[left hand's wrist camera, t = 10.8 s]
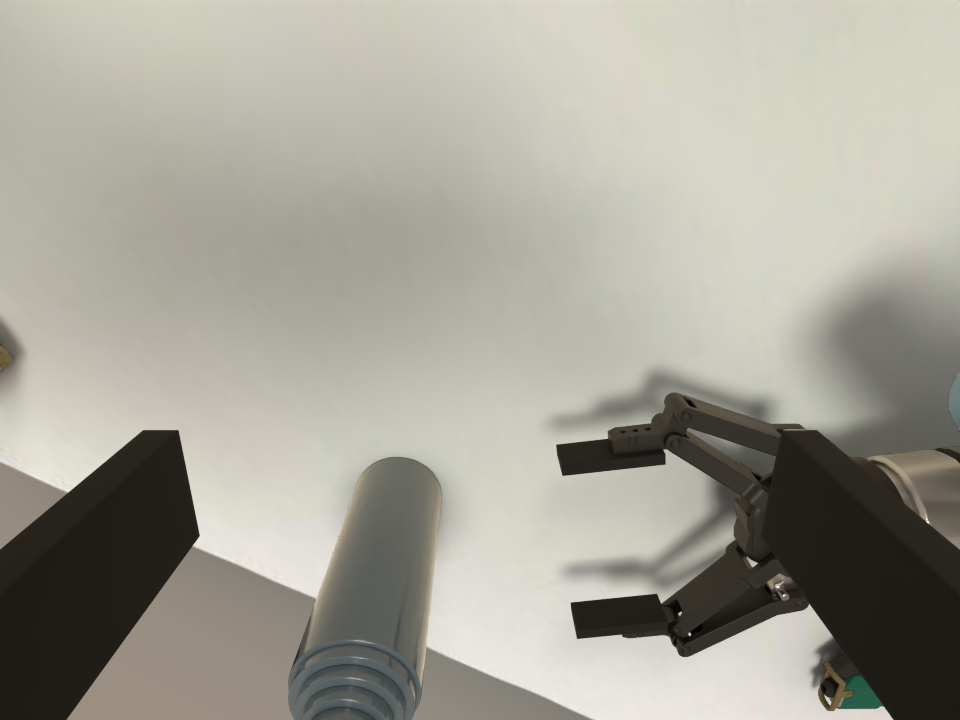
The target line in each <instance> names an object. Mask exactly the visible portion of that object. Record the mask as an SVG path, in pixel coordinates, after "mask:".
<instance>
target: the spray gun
mask: <svg viewBox="0 0 960 720" xmlns="http://www.w3.org/2000/svg"><path fill="white" fill-rule="evenodd" d="M824 666H825V667H826V669H827V670H826V673H825V675H824V678H823V680H822V683H821V685H820V688H819V690H818V695H819V699H820V701H821V703H822V704H823V706H824V707H825V708H826V710H828V711H834V710H835V709H836V708H838V709H877V708H879V707H880V706H883V704H882V703H881V702H880V700H879V699H878V697H877V696H876V695H875V693H874V692H873V691H872V689H871V688H870V686H869V685H868V684H867V682H866V681H865V680H864V678H863V677H862V675H861V674H860V673H859V671H858V670H857V669H856V667H855V666H854V664H853V663H852V662H851V660H850V659H849V658H848V656H847V655H846V653H843V654H842V655H840V656H839V657H837V658H835V659H834V660H832V661H831V662H829V661H827V662H826V663H824ZM824 695H826V696H827V697H829V698H830V700H831V702H832V703H831V705H829V704H828V702H827V701H826V699H825V697H824Z"/></svg>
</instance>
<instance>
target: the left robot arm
mask: <svg viewBox="0 0 960 720" xmlns="http://www.w3.org/2000/svg"><path fill="white" fill-rule="evenodd" d="M199 536H200V535H199V530H198V525H197V520H196V515H195V510H194V505H193V500H192V495H191V490H190V485H189V480H188V475H187V470H186V465H185V460H184V455H183V450H182V445H181V441H180V436H179V431H178V430H143V431H142V432H141V433H139V434H138V435H137V436H136V437H135V438H133V439H132V440H131V441H130V442H129V443H127V444H126V445H125V446H124V447H123V448H121V449H120V450H119V451H118V452H117V453H115V454H114V455H113V456H112V457H111V458H109V459H108V460H107V461H106V462H105V463H103V464H102V465H101V466H100V467H99V468H97V469H96V470H95V471H94V472H93V473H91V474H90V475H89V476H88V477H87V478H85V479H84V480H83V481H82V482H81V483H79V484H78V485H77V486H76V487H75V488H73V489H72V490H71V491H70V492H69V493H67V494H66V495H65V496H64V497H63V498H61V499H60V500H59V501H58V502H57V503H55V504H54V505H53V506H52V507H51V508H49V509H48V510H47V511H46V512H45V513H43V514H42V515H41V516H40V517H39V518H37V519H36V520H35V521H34V522H33V523H32V524H30V525H29V526H28V527H27V528H25V529H24V530H23V531H22V532H21V533H20V534H18V535H17V536H16V537H15V538H14V539H12V540H11V541H10V542H9V543H8V544H6V545H5V546H4V547H3V548H2V549H0V720H67V718H68V717H69V715H70V714H71V713H72V711H73V710H74V709H75V707H76V706H77V704H78V703H79V702H80V700H81V699H82V697H83V696H84V695H85V693H86V692H87V691H88V689H89V688H90V686H91V685H92V684H93V682H94V681H95V679H96V678H97V677H98V675H99V674H100V673H101V671H102V670H103V669H104V667H105V666H106V664H107V663H108V662H109V660H110V659H111V658H112V656H113V655H114V653H115V652H116V651H117V649H118V648H119V646H120V645H121V644H122V642H123V641H124V640H125V638H126V637H127V635H128V634H129V633H130V631H131V630H132V629H133V627H134V626H135V624H136V623H137V622H138V620H139V619H140V618H141V616H142V615H143V613H144V612H145V611H146V609H147V608H148V606H149V605H150V604H151V602H152V601H153V600H154V598H155V597H156V595H157V594H158V593H159V591H160V590H161V588H162V587H163V586H164V584H165V583H166V582H167V580H168V579H169V578H170V576H171V575H172V573H173V572H174V571H175V569H176V568H177V566H178V565H179V564H180V562H181V561H182V560H183V558H184V557H185V555H186V554H187V553H188V551H189V550H190V549H191V547H192V546H193V544H194V543H195V542H196V540H197V539H198V538H199ZM760 536H761V538H762V539H763V540H764V542H765V543H766V544H767V546H768V547H769V549H770V550H771V551H772V553H773V554H774V555H775V557H776V558H777V560H778V561H779V562H780V564H781V565H782V567H783V568H784V569H785V571H786V572H787V573H788V575H789V576H790V578H791V579H792V580H793V582H794V583H795V584H796V586H797V587H798V589H799V590H800V591H801V593H802V594H803V595H804V597H805V598H806V600H807V601H808V602H809V604H810V605H811V606H812V608H813V609H814V611H815V612H816V613H817V615H818V616H819V618H820V619H821V620H822V622H823V623H824V624H825V626H826V627H827V629H828V630H829V631H830V633H831V634H832V635H833V637H834V638H835V640H836V641H837V642H838V644H839V645H840V646H841V648H842V649H843V651H844V652H845V653H846V655H847V656H848V658H849V659H850V660H851V662H852V663H853V664H854V666H855V667H856V669H857V670H858V671H859V673H860V674H861V675H862V677H863V678H864V680H865V681H866V682H867V684H868V685H869V686H870V688H871V689H872V691H873V692H874V693H875V695H876V696H877V697H878V699H879V700H880V702H881V703H882V704H883V706H884V707H885V709H886V710H887V711H888V713H889V714H890V715H891V717H892V718H893V720H960V549H958V548H957V547H956V546H955V545H954V544H952V543H951V542H950V541H949V540H948V539H947V538H945V537H944V536H943V535H942V534H941V533H939V532H938V531H937V530H936V529H935V528H933V527H932V526H931V525H930V524H929V523H927V522H926V521H925V520H924V519H923V518H921V517H920V516H919V515H918V514H917V513H915V512H914V511H913V510H912V509H911V508H909V507H908V506H907V505H906V504H905V503H903V502H902V501H901V500H900V499H899V498H897V497H896V496H895V495H894V494H893V493H891V492H890V491H889V490H888V489H887V488H885V487H884V486H883V485H882V484H881V483H879V482H878V481H877V480H876V479H875V478H873V477H872V476H871V475H870V474H869V473H867V472H866V471H865V470H864V469H863V468H861V467H860V466H859V465H858V464H857V463H855V462H854V461H853V460H852V459H851V458H849V457H848V456H847V455H846V454H845V453H843V452H842V451H841V450H840V449H839V448H837V447H836V446H835V445H834V444H833V443H831V442H830V441H829V440H828V439H827V438H825V437H824V436H823V435H822V434H821V433H819V432H818V431H817V430H782V431H781V436H780V441H779V446H778V450H777V455H776V460H775V465H774V470H773V475H772V480H771V485H770V490H769V495H768V500H767V505H766V510H765V515H764V520H763V525H762V530H761V535H760Z"/></svg>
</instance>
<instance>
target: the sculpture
mask: <svg viewBox="0 0 960 720" xmlns="http://www.w3.org/2000/svg"><path fill="white" fill-rule="evenodd" d="M11 361H12V357H11V356H10V354H9V353H8V351H7V350H6V348H4V347H3V346H0V370H1V369H2V368H3V367H5V366H6V365H8V364H9V363H10V362H11Z"/></svg>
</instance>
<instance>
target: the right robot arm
mask: <svg viewBox="0 0 960 720" xmlns="http://www.w3.org/2000/svg"><path fill="white" fill-rule="evenodd" d="M664 404H665V409H664V412H663V413H659V414H656V415H655V416H654V417H653V419H652V422H651V423H650V424H642V425H633V426H625V427H616V428H613V429H611V430H609V431H608V439H603V440H594V441H585V442H577V443H568V444H559V445H556V447H557V456H558V460H559V463H560V467H561V471H562V475H563V476H566V475H575V474H584V473H593V472H602V471H611V470H620V469H629V468H638V467H647V466H656V465H664V464H665V453H664V451H663V450H664V449H668V450H669V451H670V452H672V453H673V454H675V455H677V456H678V457H680V458H681V459H683V460H685V461H686V462H688V463H689V464H691V465H693V466H694V467H696V468H698V469H699V470H701V471H702V472H704V473H706V474H707V475H709V476H710V477H712V478H714V479H715V480H717V481H719V482H720V483H722V484H723V485H725V486H727V487H728V488H730V489H731V490H733V491H735V492H736V493H738V494H740V497H739V499H735V511H736V514H737V520H736V523H735V526H734V537H735V538H736V540H735V541H734V542H732V543H731V544H730V545H729V546H728V547H727V548H726V553H725V555H724V556H723V557H721V558H720V559H719V560H718V561H716V562H715V563H714V564H712V565H711V566H710V567H709V568H707V569H706V570H705V571H703V572H702V573H701V574H699V575H698V576H697V577H696V578H694V579H693V580H692V581H690V582H689V583H688V584H687V585H685V586H684V587H683V588H681V589H680V590H679V591H677V592H676V593H675V594H674V595H672V596H671V597H670V598H668V599H667V600H666V601H664V602H663V603H662V604H661V603H660V600H659V598H658V595H657V594H651V595H641V596H631V597H621V598H612V599H602V600H592V601H582V602H573V603H571V611H572V616H573V621H574V626H575V631H576V636H577V639H581V638H591V637H601V636H611V635H621V634H622V636H623V637H626V638H637V637H648V636H658V635H666V636H669V637H670V639H671V642H672V644H673V646H674V647H676V648H677V651H678V653H679V655H680V656H682V657H688V656H691V655H693V654H695V653H697V652H700V651H702V650H704V649H706V648H708V647H710V646H712V645H714V644H717V643H719V642H721V641H723V640H725V639H727V638H729V637H732V636H734V635H736V634H738V633H740V632H742V631H744V630H746V629H749V628H751V627H753V626H755V625H757V624H759V623H761V622H763V621H766V620H768V619H770V618H772V617H774V616H776V615H780V614H786V613H791V612H796V611H801V610H804V609H806V608H807V607H808V605H809V602H808V601H807V600H806V598H805V597H804V595H803V594H802V593H801V591H800V590H799V589H798V587H797V586H796V584H795V583H794V582H793V580H792V579H791V578H790V576H789V575H788V573H787V572H786V571H785V569H784V568H783V567H782V565H781V564H780V562H779V561H778V560H777V558H776V557H775V555H774V554H773V553H772V551H771V550H770V549H769V547H768V546H767V544H766V543H765V542H764V540H763V539H762V538H761V536H760V535H761V530H762V525H763V520H764V515H765V510H766V505H767V500H768V495H769V490H770V485H771V480H772V475H773V471H772V472H770V473H769V474H767V475H766V476H765V477H763V476H761V475H759V474H758V473H756V472H755V471H753V470H751V469H750V468H748V467H747V466H745V465H744V464H742V463H738V462H736V461H734V460H733V459H731V458H730V457H728V456H726V455H725V454H723V453H722V452H720V451H719V450H717V449H715V448H714V447H712V446H711V445H709V444H707V443H706V442H704V441H703V440H701V439H700V438H698V437H696V436H695V435H693V434H692V433H690V432H688V431H687V428H691V429H694V430H697V431H700V432H703V433H706V434H709V435H712V436H715V437H719V438H722V439H725V440H728V441H731V442H734V443H737V444H740V445H743V446H746V447H749V448H752V449H755V450H758V451H761V452H764V453H768V454H771V455H774V456H776V455H777V450H778V446H779V441H780V436H781V431H782V430H806V429H805V428H804V427H802V426H801V425H800V424H769V423H766V422H763V421H760V420H757V419H754V418H751V417H748V416H745V415H742V414H739V413H736V412H733V411H730V410H727V409H724V408H721V407H718V406H715V405H712V404H709V403H706V402H703V401H700V400H697V399H694V398H691V397H688V396H685V395H682V394H679V393H670V394H668V395H667V396H666V397H665V400H664ZM949 411H950V413H951V416H952V419H953V422H954V423H955V425H956V426H957V428H958V430H959V431H960V372H959V373H958V375H957V376H956V378H955V380H954V381H953V384H952V386H951V389H950V393H949ZM851 459H852V460H853V461H854V462H855V463H857V464H858V465H859V466H860V467H861V468H863V469H864V470H865V471H866V472H867V473H869V474H870V475H871V476H872V477H873V478H875V479H876V480H877V481H878V482H879V483H881V484H882V485H883V486H884V487H885V488H887V489H888V490H889V491H890V492H891V493H893V494H894V495H895V496H896V497H897V498H899V499H900V500H901V501H902V502H903V503H905V504H906V505H907V506H908V507H909V508H911V509H912V510H913V511H914V512H915V513H917V514H918V515H919V516H920V517H921V518H923V519H924V520H925V521H926V522H927V523H929V524H930V525H931V526H932V527H933V528H935V529H936V530H937V531H938V532H939V533H941V534H942V535H943V536H944V537H945V538H947V539H948V540H949V541H950V542H951V543H952V544H954V545H955V546H956V547H957V548H958V549H960V446H954V447H946V448H938V449H933V450H921V451H912V452H904V453H895V454H886V455H877V456H869V457H868V458H866V459H864V458H860V457H853V458H851ZM747 556H748V557H749V558H750V559H751V560H753V561H755V562H757V563H758V564H757V565H756V566H754V567H753V568H752V566H751V565H750V563H749V562H748V560H747ZM681 611H682V614H681V615H680V616H679V614H678V613H679V612H681ZM689 632H690V633H691V636H689V635H688V633H689Z"/></svg>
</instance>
